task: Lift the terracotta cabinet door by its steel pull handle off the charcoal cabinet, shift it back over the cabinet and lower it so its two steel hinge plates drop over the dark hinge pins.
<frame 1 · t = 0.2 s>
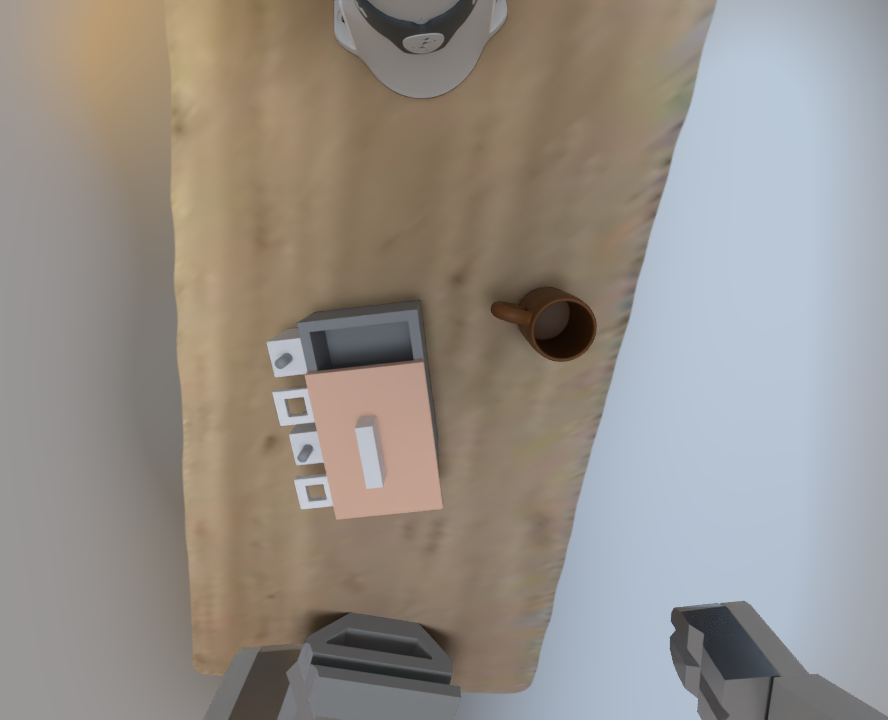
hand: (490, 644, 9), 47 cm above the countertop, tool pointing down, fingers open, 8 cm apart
cabinet: (379, 377, 58), on the countertop
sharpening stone: (381, 634, 71), on the countertop
door: (378, 440, 53), point 7 cm above the countertop, touching cabinet
mug: (528, 310, 55), on the countertop
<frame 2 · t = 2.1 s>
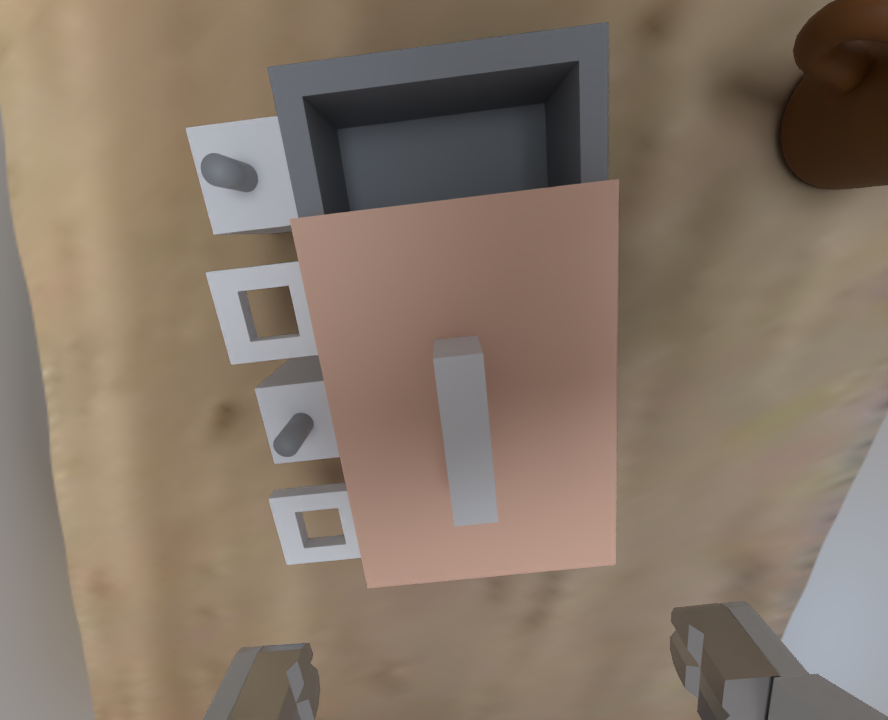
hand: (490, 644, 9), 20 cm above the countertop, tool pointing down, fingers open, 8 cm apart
cabinet: (455, 275, 27), on the countertop
door: (472, 405, 22), point 7 cm above the countertop, touching cabinet
mug: (803, 110, 24), on the countertop
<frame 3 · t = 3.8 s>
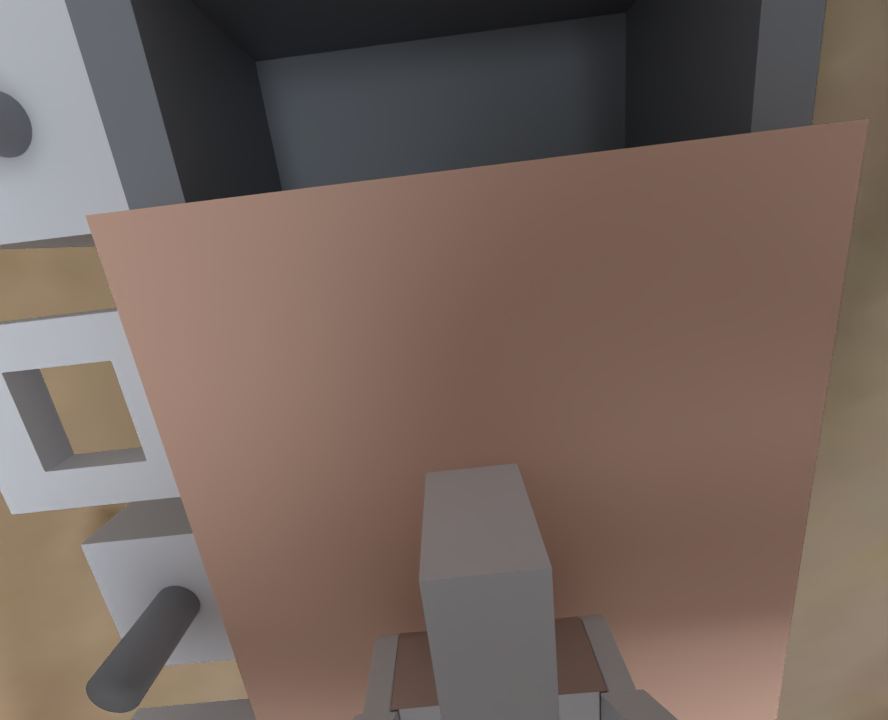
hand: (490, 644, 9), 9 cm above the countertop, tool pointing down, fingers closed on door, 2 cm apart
cabinet: (465, 311, 16), on the countertop
door: (500, 571, 11), point 7 cm above the countertop, touching cabinet, gripper
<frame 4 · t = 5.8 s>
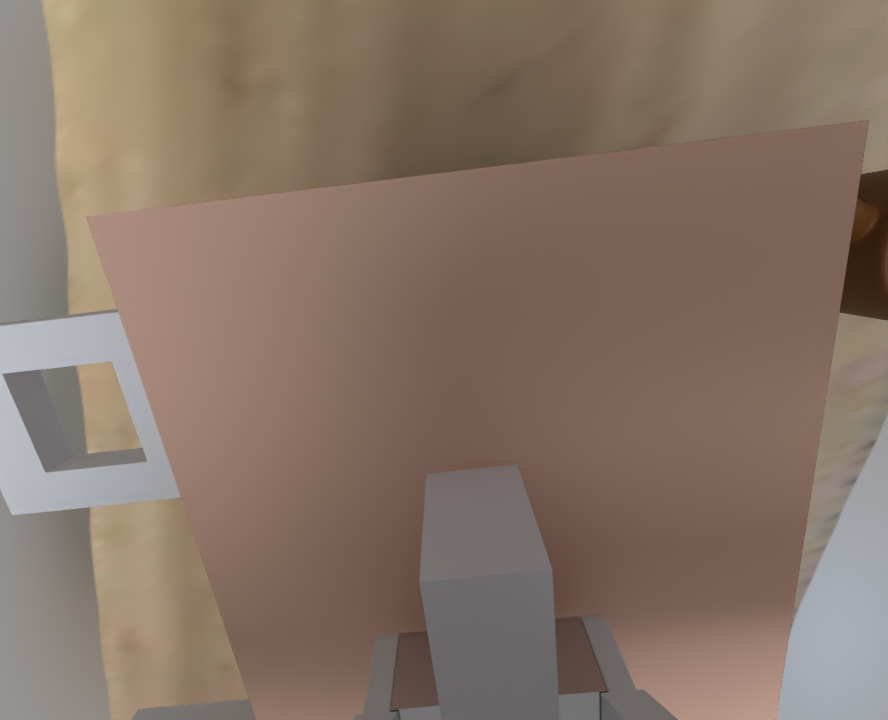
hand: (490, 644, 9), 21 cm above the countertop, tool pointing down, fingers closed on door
door: (500, 572, 11), point 19 cm above the countertop, touching gripper
mug: (764, 236, 28), on the countertop
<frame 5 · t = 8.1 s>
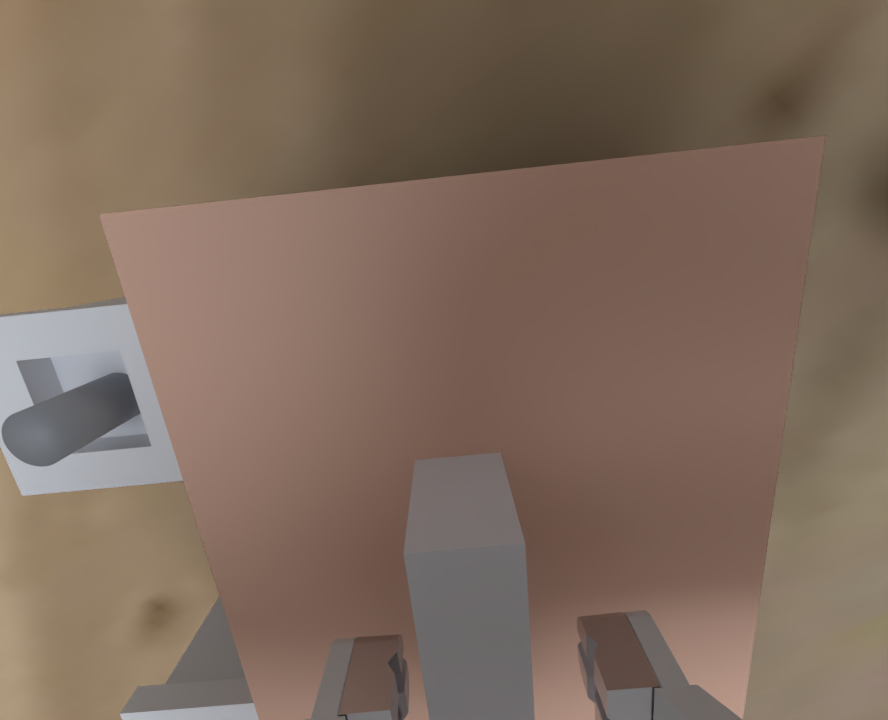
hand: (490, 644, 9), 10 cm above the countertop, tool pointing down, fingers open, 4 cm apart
cabinet: (477, 441, 19), on the countertop
door: (486, 557, 12), point 7 cm above the countertop, touching cabinet
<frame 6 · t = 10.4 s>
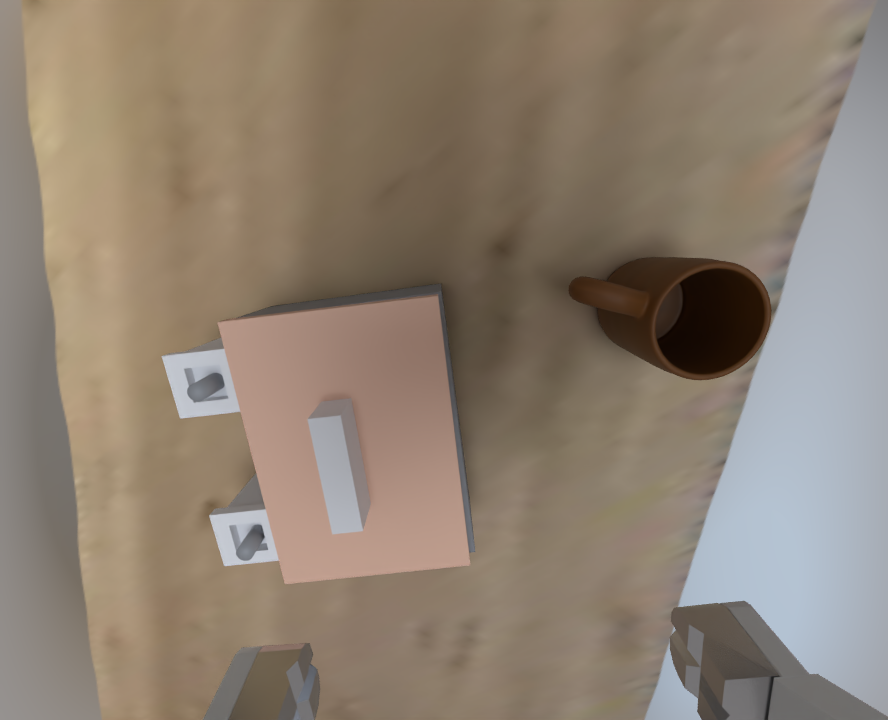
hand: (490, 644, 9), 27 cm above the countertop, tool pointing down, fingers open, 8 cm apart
cabinet: (376, 408, 37), on the countertop
door: (357, 445, 30), point 7 cm above the countertop, touching cabinet
mug: (614, 297, 34), on the countertop
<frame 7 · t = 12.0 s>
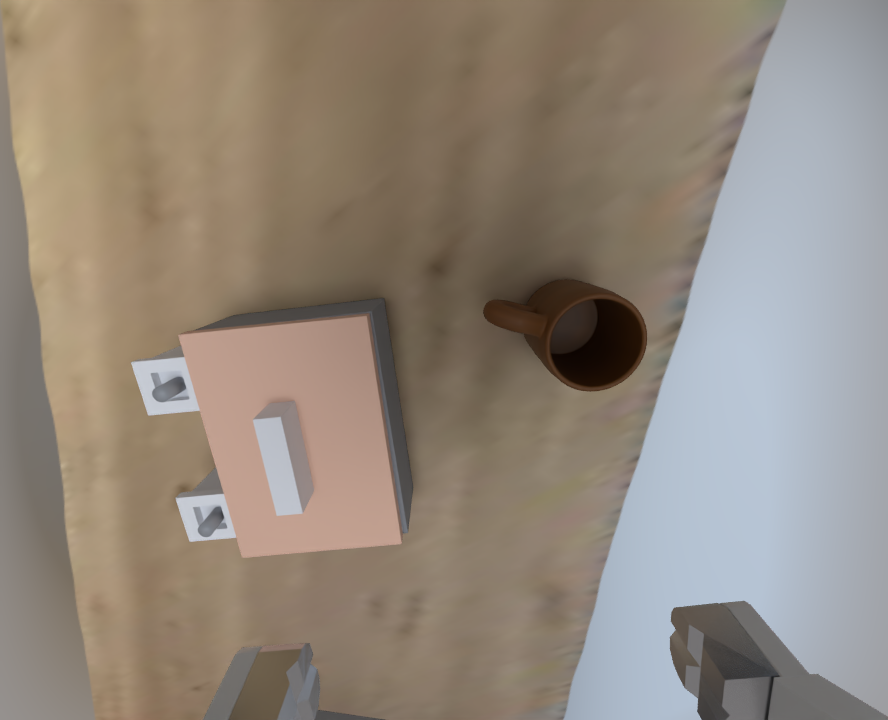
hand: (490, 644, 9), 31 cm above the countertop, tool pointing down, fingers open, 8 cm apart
cabinet: (329, 406, 41), on the countertop
door: (303, 440, 35), point 7 cm above the countertop, touching cabinet
mug: (538, 312, 39), on the countertop
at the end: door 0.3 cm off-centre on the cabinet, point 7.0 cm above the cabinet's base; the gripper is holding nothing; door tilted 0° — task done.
